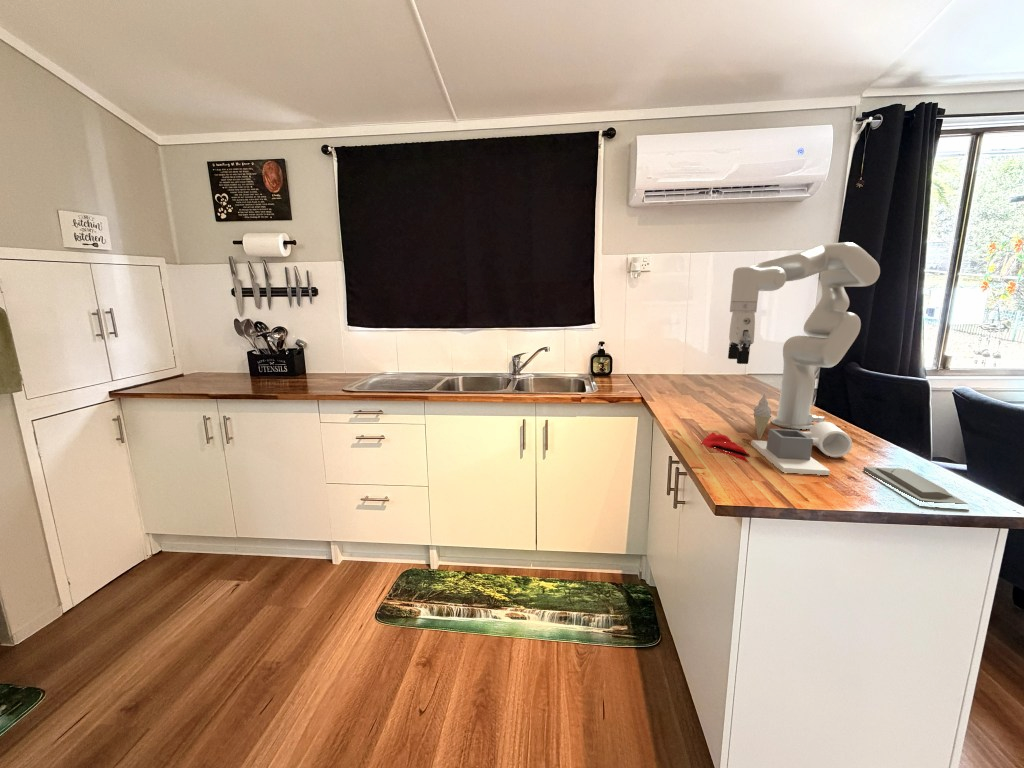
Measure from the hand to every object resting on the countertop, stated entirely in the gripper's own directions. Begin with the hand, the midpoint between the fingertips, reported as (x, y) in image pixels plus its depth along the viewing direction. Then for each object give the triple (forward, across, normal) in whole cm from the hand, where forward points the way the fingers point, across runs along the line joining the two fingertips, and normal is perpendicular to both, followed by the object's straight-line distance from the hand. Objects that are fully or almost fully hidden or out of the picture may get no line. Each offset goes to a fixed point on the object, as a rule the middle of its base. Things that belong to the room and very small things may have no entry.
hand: (737, 361), depth 143 cm
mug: (+25, -12, -22) cm, 35 cm away
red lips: (+25, -14, +5) cm, 29 cm away
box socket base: (+24, -22, -9) cm, 34 cm away
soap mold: (+25, -37, -31) cm, 54 cm away
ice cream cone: (+25, -5, -7) cm, 26 cm away
